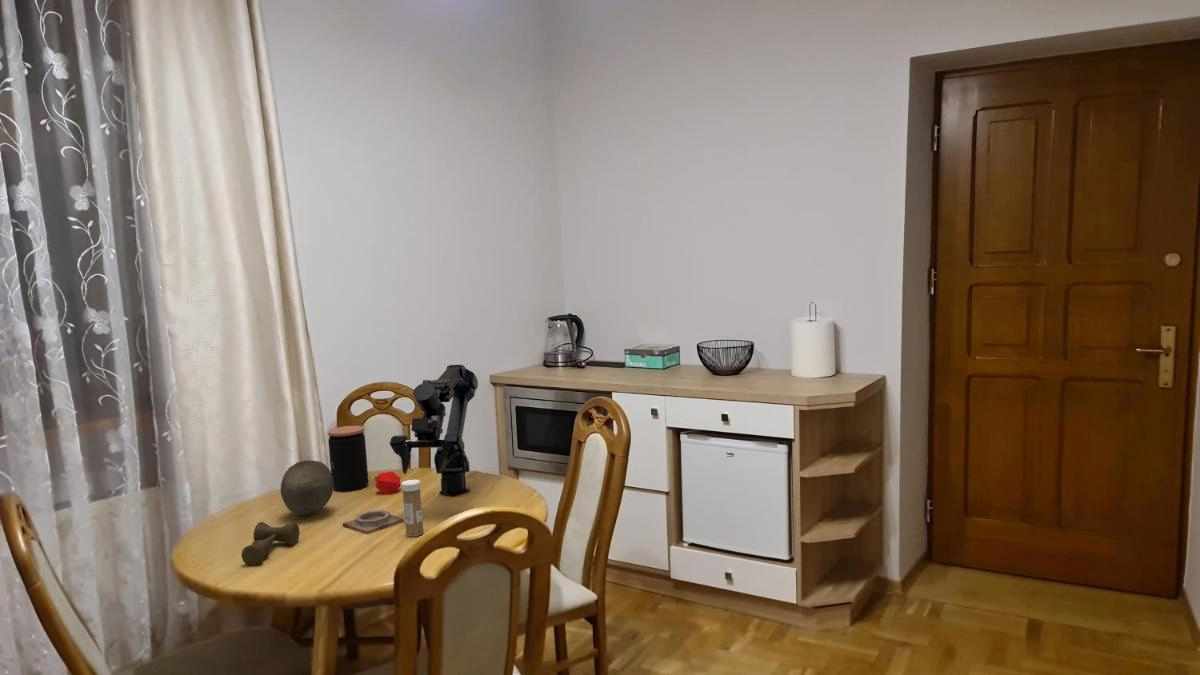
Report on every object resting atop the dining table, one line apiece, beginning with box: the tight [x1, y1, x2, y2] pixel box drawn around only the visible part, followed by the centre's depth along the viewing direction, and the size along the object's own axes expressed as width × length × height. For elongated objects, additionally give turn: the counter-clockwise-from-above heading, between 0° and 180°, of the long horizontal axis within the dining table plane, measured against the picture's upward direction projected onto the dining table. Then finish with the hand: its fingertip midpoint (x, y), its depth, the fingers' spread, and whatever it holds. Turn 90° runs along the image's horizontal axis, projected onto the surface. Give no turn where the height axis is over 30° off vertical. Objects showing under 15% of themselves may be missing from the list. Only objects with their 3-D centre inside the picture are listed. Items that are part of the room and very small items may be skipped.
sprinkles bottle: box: [401, 479, 425, 538], centre depth 197 cm, size 5×5×13 cm
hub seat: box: [342, 510, 405, 535], centre depth 207 cm, size 11×11×2 cm
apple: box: [374, 471, 402, 495], centre depth 236 cm, size 7×7×8 cm
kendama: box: [241, 521, 300, 567], centre depth 192 cm, size 6×10×20 cm
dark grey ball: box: [280, 459, 334, 517], centre depth 217 cm, size 14×14×15 cm
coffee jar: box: [327, 425, 369, 493], centre depth 242 cm, size 11×11×18 cm
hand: (421, 472), depth 205 cm, fingers open, 9 cm apart
